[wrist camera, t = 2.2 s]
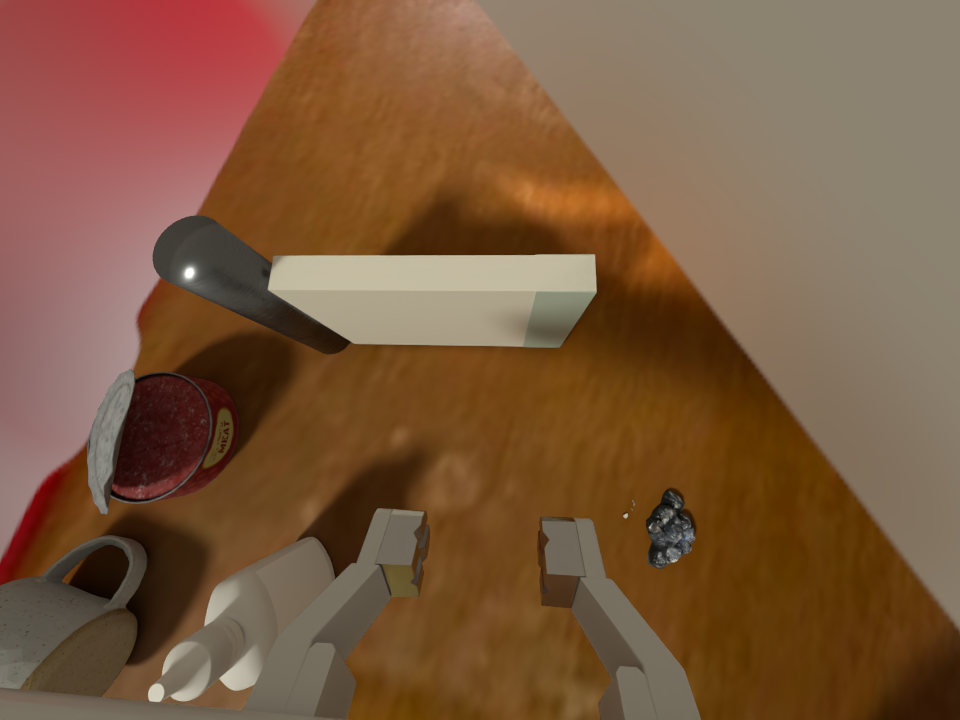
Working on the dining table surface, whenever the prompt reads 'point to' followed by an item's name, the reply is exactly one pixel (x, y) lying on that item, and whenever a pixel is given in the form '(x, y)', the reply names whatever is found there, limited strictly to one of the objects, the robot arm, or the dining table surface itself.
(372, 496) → the dining table surface
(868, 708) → the dining table surface
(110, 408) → the canned food
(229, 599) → the eye dropper bottle
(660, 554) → the blueberries
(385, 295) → the cream flat block
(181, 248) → the hinge post
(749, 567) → the dining table surface
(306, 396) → the dining table surface
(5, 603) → the ceramic mug
